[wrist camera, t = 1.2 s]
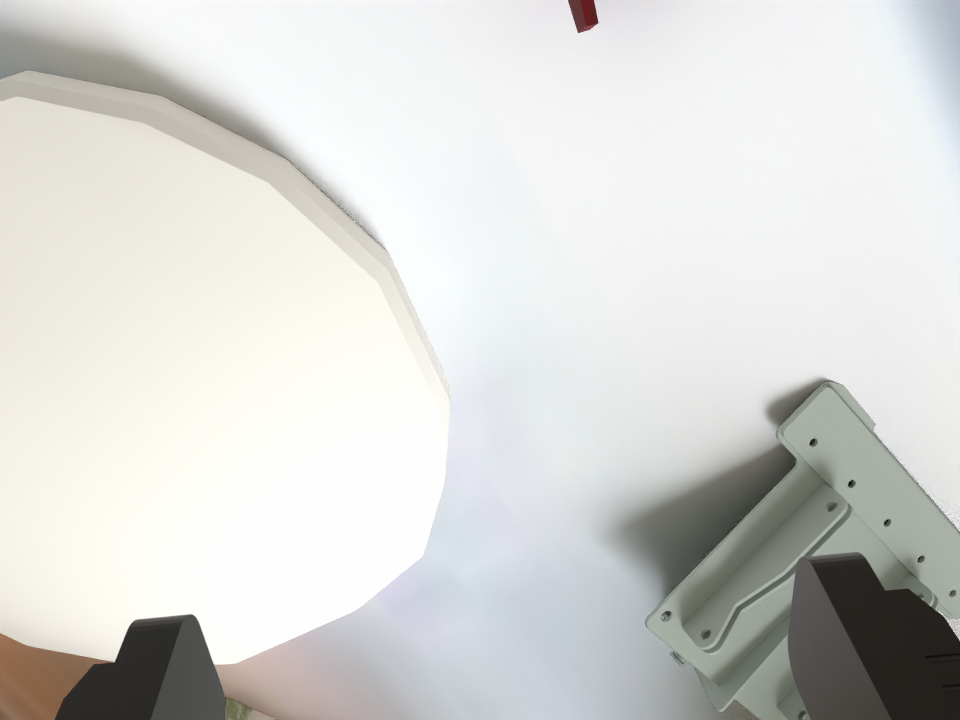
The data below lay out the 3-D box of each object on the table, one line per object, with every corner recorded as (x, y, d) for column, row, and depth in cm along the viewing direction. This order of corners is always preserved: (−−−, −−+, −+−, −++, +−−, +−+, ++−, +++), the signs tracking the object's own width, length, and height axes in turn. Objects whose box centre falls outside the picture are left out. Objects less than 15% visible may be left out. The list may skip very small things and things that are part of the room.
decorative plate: (-476, 385, 29) (110, -64, 23) (-377, 324, 32) (153, -77, 27) (85, 781, 40) (570, 544, 34) (113, 703, 44) (556, 478, 38)
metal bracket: (821, 802, 41) (616, 642, 35) (752, 715, 46) (565, 563, 40) (1048, 578, 40) (879, 374, 34) (951, 516, 45) (791, 330, 39)
